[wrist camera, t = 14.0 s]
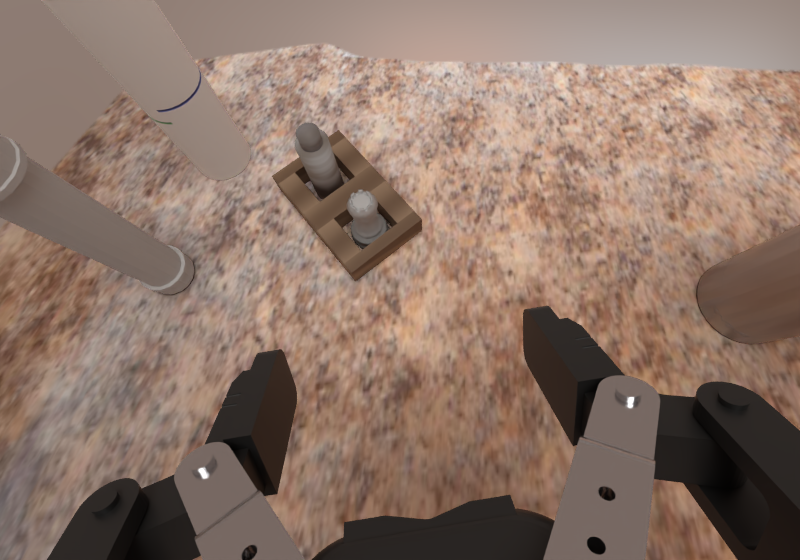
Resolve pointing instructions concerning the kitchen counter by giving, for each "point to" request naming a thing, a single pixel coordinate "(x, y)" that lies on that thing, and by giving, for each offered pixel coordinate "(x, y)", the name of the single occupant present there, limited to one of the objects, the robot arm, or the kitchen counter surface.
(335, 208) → the holder
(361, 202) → the rook chess piece
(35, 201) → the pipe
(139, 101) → the cylindrical container
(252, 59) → the kitchen counter surface
